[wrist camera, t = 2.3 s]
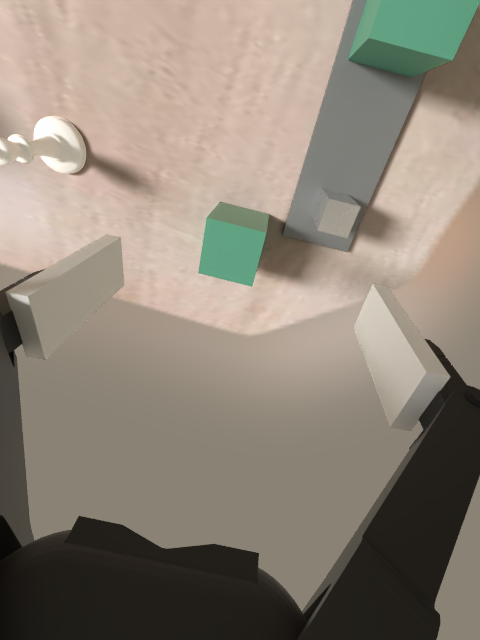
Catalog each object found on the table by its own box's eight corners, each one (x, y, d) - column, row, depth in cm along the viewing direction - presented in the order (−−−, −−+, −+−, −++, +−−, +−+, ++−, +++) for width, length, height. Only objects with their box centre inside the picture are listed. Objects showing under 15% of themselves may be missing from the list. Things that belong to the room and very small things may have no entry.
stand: (282, 233, 31) (282, 258, 25) (366, -47, 20) (402, -120, 14) (346, 250, 32) (361, 278, 26) (463, -20, 21) (539, -82, 15)
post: (311, 215, 29) (317, 230, 25) (321, 187, 28) (329, 198, 23) (337, 221, 30) (347, 238, 25) (347, 194, 28) (360, 206, 23)
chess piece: (90, 176, 31) (19, 193, 22) (45, 170, 31) (-43, 185, 22) (81, 118, 28) (-5, 114, 20) (31, 113, 28) (-75, 105, 20)
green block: (212, 249, 33) (198, 272, 28) (220, 201, 30) (206, 217, 25) (257, 260, 33) (252, 286, 28) (269, 214, 30) (266, 232, 25)
